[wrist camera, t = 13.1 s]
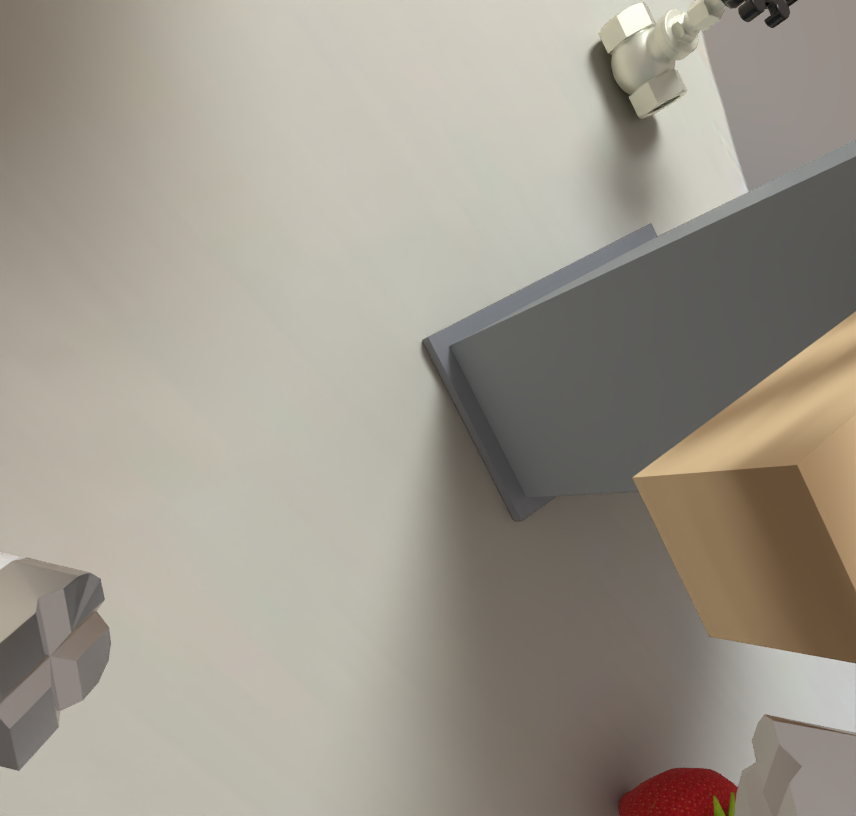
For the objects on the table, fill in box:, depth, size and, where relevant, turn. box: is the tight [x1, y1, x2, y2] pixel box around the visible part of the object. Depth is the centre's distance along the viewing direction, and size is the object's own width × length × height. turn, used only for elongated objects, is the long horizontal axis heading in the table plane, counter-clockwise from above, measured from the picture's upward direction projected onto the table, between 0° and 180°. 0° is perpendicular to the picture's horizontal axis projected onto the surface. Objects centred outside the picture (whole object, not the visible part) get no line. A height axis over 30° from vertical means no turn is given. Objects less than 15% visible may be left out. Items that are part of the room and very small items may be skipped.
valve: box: [598, 0, 797, 119], centre depth 47 cm, size 7×7×12 cm
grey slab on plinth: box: [422, 140, 856, 521], centre depth 35 cm, size 20×12×26 cm, turn 121°
